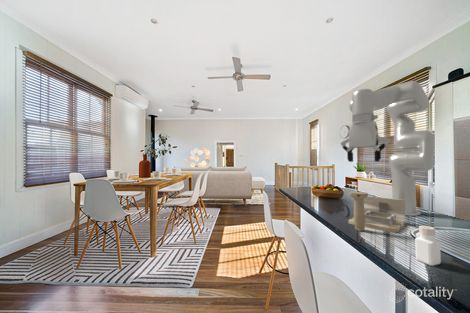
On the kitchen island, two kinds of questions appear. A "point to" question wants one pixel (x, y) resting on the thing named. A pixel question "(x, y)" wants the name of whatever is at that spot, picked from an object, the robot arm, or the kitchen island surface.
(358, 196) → the handle
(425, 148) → the robot arm
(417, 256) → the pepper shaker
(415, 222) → the kitchen island surface
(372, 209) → the hinge stand
